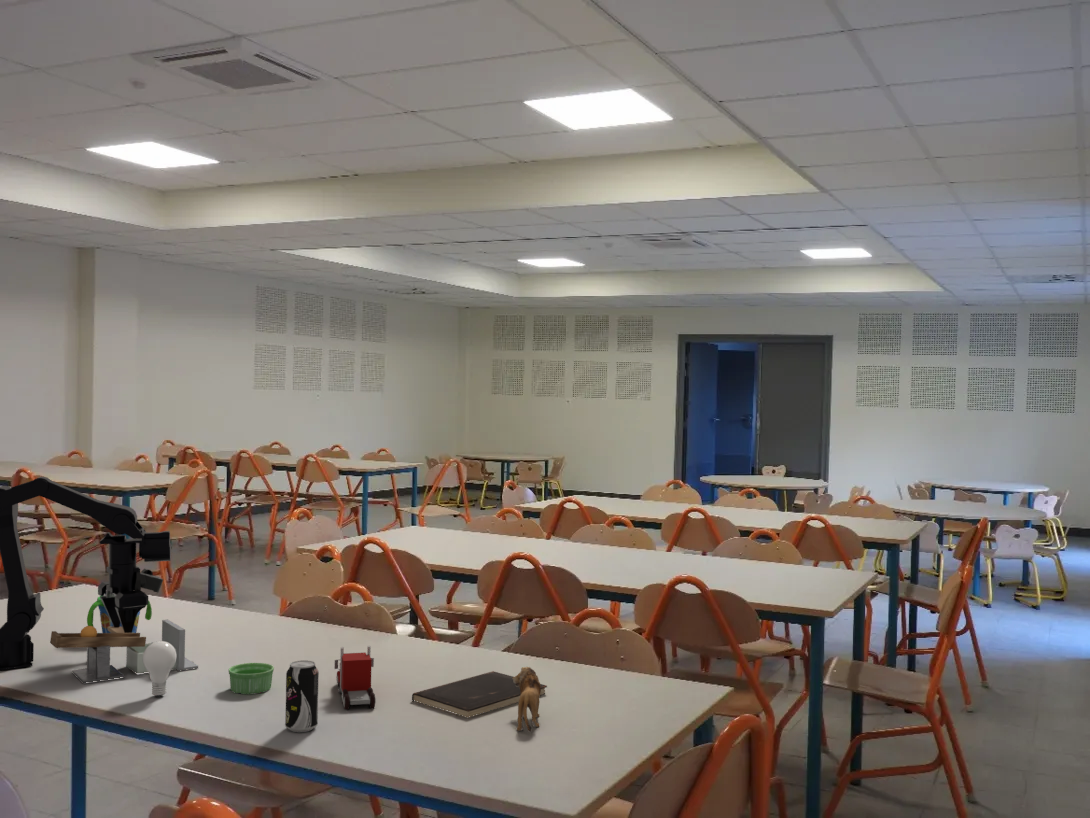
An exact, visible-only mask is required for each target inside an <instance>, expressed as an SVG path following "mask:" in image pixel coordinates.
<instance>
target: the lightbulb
mask: <svg viewBox="0 0 1090 818" xmlns="http://www.w3.org/2000/svg"><path fill="white" fill-rule="evenodd" d="M151 643H152V644H150V645H149V646H148V647H147V648H146V649H145V651H144V653H143V664H144V666H145V668H146V669H147V671H148V672H149V673H148V674H149V678H150V681H151V688H152V689H151V694H152V695H153V696H155V697H156V696H161V697H162V696H164V695H165V694H166V693H167V681H168V678H169V674H170V672H171V671H172V670H171V669H172V667H173V666H174V664H175V662H176V658H177V654H176V650H175V648H174V647H173V646H172V645H171V644H170V643H168V642H165V641H162V640H158V641H154V642H151Z"/></svg>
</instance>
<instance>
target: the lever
mask: <svg viewBox="0 0 1090 818" xmlns="http://www.w3.org/2000/svg"><path fill="white" fill-rule="evenodd" d="M107 630H108V631H109V632H111V633H102V632H97V636H96V637H81V635H80V634H81V632H61V633H60V632H58V631H56V630H54V631H53V630H52V631H51V635H50V640H49V641H50V642H49V643H50V645H52V646H53V647H54V648H55V649H56V648H57V649H58V648H61V649H62V648H63V649H64V648H71V649H72V648H73V649H74V648H87V647H98V646H106V645H110V648H127V647H145V644H147V643H146V642H147V636H141V632H136V633H124V630H123V628H122V627H108V629H107Z"/></svg>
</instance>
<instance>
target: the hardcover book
mask: <svg viewBox="0 0 1090 818" xmlns="http://www.w3.org/2000/svg"><path fill="white" fill-rule="evenodd" d="M513 677H514V676H513V675H509V674H505V673H501V672H498V671H494V670H492V671H489V672H484V673H481V674H479V675H475V676H471V677H467V678H463V679H459V680H456V681H452V682H449V683H445V684H442V685H437V686H434V687H431V688H428V689H427V688H426V689H423V690H419V691H416V692H413V693H412V695H411V701H412V700H415V701H418V702H421V703H424V704H423V705H425V704H427V705H426V706H428V705H430V706H429V707H431V706H434V707H437V708H441V709H444V710H448V711H451V712H454V713H457V714H460V715H463V716H466V717H469V716H473V715H476V714H479V715H481V714H480V713H482V714H484V713H483V712H485V713H488V712H491V711H490V710H492V711H494V710H493V709H495V710H498V709H500V707H501V708H503V707H508V706H511V705H514V704H516V703H517V704H518V703H519V700H520V695H521V692H520V686H518V687H516V685H515V683H514V682H513V679H512V678H513ZM540 684H541V692H540V696H542V695H544V694H545V693H546V690H545V688H548V685H545V684H542V683H540ZM415 701H414V702H415ZM418 702H417V703H418ZM421 703H420V704H421ZM434 707H433V708H434ZM437 708H436V709H437ZM497 708H498V709H497ZM444 710H443V711H444ZM487 711H488V712H487ZM460 715H459V716H460ZM463 716H462V717H463ZM476 716H477V715H476ZM466 717H465V718H466ZM473 717H474V716H473Z"/></svg>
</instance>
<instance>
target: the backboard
mask: <svg viewBox="0 0 1090 818" xmlns="http://www.w3.org/2000/svg"><path fill="white" fill-rule="evenodd" d="M161 622H162V623H161V641H165V642H168V643H170V644H171V645H172V646H173V647H174V648H176V654H177V658H176V669H177V671H178V670H179V671H178V672H181V671H180V670H185V671H187V670H186V669H192V670H194V669H193V668H198V669H199V665H197V663H195V662H193V661H192V660H190V659H188V658H187V657H186V655H185V652H186V629H185V628H184V627H182V626H180V625H178V624H176V623H174V622H173V621H172V620H169V619H161ZM176 669H175V670H176Z"/></svg>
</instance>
